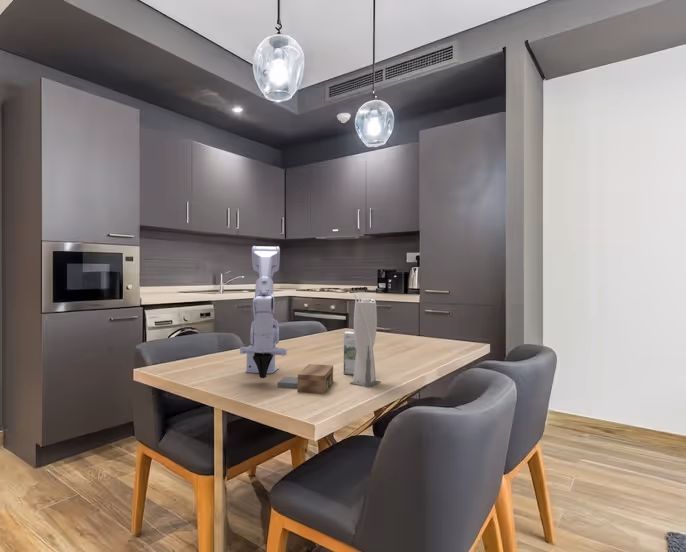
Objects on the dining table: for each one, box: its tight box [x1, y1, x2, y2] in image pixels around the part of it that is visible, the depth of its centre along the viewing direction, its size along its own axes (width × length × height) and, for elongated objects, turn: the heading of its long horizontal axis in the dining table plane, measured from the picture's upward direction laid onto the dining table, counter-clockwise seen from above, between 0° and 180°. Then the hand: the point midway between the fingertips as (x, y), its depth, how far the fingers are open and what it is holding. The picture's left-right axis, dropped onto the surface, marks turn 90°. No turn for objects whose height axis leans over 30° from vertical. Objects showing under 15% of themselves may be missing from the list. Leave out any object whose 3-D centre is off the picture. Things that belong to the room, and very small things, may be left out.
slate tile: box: [277, 376, 298, 389], centre depth 125 cm, size 13×7×2 cm, turn 81°
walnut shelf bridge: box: [297, 363, 334, 394], centre depth 124 cm, size 8×14×5 cm, turn 171°
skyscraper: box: [349, 293, 381, 388], centre depth 129 cm, size 8×8×28 cm
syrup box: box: [343, 330, 357, 376], centre depth 140 cm, size 6×6×14 cm
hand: (263, 377), depth 127 cm, fingers closed
